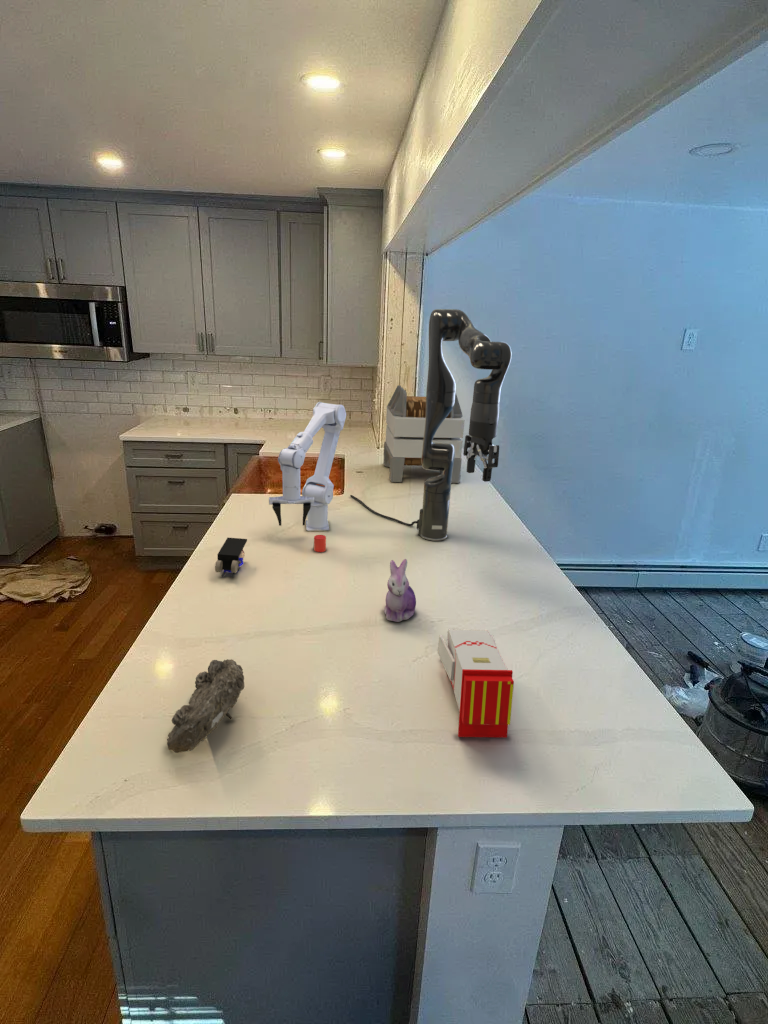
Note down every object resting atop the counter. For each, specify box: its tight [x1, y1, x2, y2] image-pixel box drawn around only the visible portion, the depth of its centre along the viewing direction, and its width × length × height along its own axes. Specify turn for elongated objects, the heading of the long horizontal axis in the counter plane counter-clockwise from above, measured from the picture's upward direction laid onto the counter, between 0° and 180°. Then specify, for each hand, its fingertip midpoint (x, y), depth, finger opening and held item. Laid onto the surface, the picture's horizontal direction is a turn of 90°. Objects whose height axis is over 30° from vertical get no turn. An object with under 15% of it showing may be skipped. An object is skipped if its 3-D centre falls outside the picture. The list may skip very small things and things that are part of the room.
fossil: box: [166, 658, 245, 754], centre depth 106 cm, size 22×10×15 cm
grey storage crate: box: [383, 384, 465, 484], centre depth 268 cm, size 34×33×41 cm
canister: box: [313, 534, 327, 553], centre depth 183 cm, size 4×4×5 cm
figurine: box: [384, 558, 417, 623], centre depth 145 cm, size 9×10×15 cm
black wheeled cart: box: [214, 537, 248, 578], centre depth 166 cm, size 7×8×15 cm
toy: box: [437, 628, 515, 738], centre depth 117 cm, size 12×13×30 cm
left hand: (292, 524), depth 188 cm, fingers open, 7 cm apart
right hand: (478, 476), depth 158 cm, fingers open, 8 cm apart
